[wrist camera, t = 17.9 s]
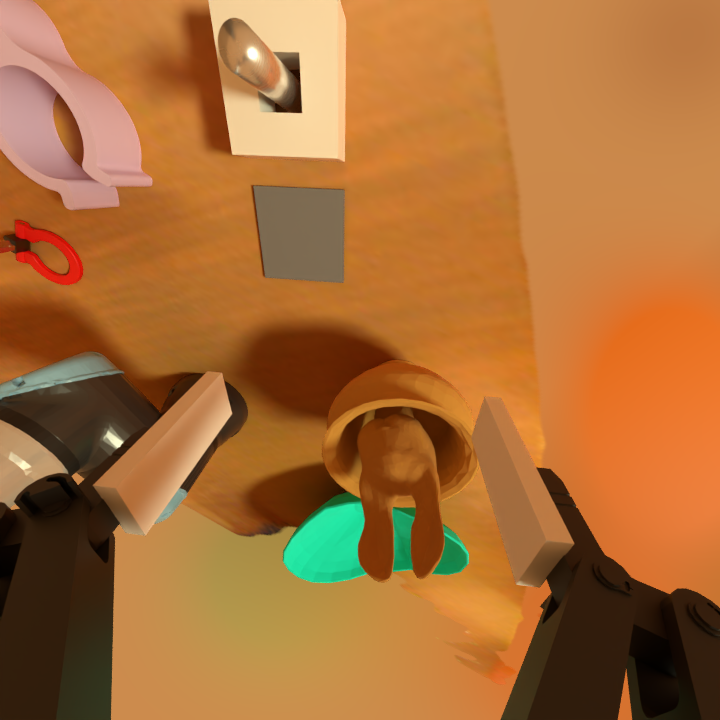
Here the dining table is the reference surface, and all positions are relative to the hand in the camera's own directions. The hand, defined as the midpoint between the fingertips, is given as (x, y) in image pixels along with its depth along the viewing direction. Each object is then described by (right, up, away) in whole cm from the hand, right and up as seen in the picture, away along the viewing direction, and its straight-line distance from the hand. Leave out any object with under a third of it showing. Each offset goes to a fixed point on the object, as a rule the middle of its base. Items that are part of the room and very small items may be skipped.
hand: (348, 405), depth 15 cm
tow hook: (-48, +19, +32) cm, 61 cm away
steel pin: (-7, +33, +18) cm, 38 cm away
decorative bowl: (+7, -2, +38) cm, 39 cm away
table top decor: (+4, -33, +56) cm, 65 cm away
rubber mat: (-8, +20, +26) cm, 34 cm away
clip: (-35, +34, +22) cm, 53 cm away
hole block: (-7, +33, +18) cm, 38 cm away
